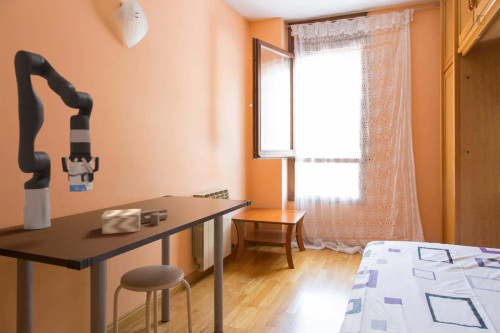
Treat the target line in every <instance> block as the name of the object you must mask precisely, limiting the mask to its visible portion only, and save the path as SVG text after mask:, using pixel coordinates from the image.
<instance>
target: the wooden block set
mask: <svg viewBox="0 0 500 333" xmlns="http://www.w3.org/2000/svg"><path fill="white" fill-rule="evenodd" d="M140 219H141V223H143V224H150V225H155V226H159V224H160V221H163V220H167V219H168V208H167V207H161V208H155V209H146V210H141V213H140Z"/></svg>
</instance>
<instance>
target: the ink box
mask: <svg viewBox="0 0 500 333" xmlns="http://www.w3.org/2000/svg"><path fill="white" fill-rule="evenodd" d="M89 165H91V167H92V168H93V161H90V162H89ZM68 170H69V180H68V182H69V192H77V193H79V192H85V191H90V190H94V187H93V186H94V183H93V182H94V180H93V181H92V182H89V173H90V172H89V170H88V169H87V167H86V166H85V162H71V161H68Z"/></svg>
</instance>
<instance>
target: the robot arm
mask: <svg viewBox="0 0 500 333" xmlns="http://www.w3.org/2000/svg"><path fill="white" fill-rule="evenodd" d="M13 62H14V63H13V66H14V73H15V74H14V75H15V79H16V86H17V101H18V102H17V106H18V107H17V108H18V109H17V110H18V111H17V112H18V114H17V115H18V125H19V126H18V131H19V134H18V136H19V140H18V151H17V152H18V153H17V155H18V156H17V165H18V168H19V169H20V171H21V172H22V173H24V174H32V177H31V178H29V179H28V180H27V181H25V182H24V184H23V190H24V191H23V192H24V193H23V194H24V196H23V197H24V206H23V207H22V212H23V215H22V216H23V230H39V229H40V230H41V229H48V228H50V227H51V225H52V224H51V203H50V200H51V198H50V182H51V180H52V179H51V178H52V163H51V157H50V155H49V154H48V153H47V152H46V151H37V150H36V151H35V142H36V138H37V137H38V134H39V132H40V131H41V129H42V127H43V125H44V122H45V112H44V110H45V109H44V103H43V102H42V100H41V98H40V97H39V95H38V93H37V92H36V91H35V90H36V89H34V86H33V83H32V79H31V75H32V76H38V77H40V78H43V79H44V80H46V83H47V86H48V87H49V89H51V91H53V92H54V93H55V94H56V96H59V98H60V100H61V101H62V102H63V103H64V105H66V107H68V108H70V109H74V110H78V112H77V114H73V115H71V116H70V117H69V150H70V151H69V156H62V157H61V159H60V160H61V167H62V172H63V173H67V178H68V179H67V180H68V181H69V168H68V163H69V162H85V166H86V167H87V169H88V170H89V172H90V173H89V182H92V181H93V182H94V179H95V174H94V173H96V172H99V169H100V156H92V150H91V149H92V148H91V146H92V145H91V141H92V139H91V133H90V132H91V131H90V119H91V115H92V113H93V112H92V111H93V107H94V100H93V98H92V95H91V94H90V93H88V92H83V91H79V90H77V89H76V87H75V85H74V84H72V82H71V81H69V80H68V79H66V78H65V77H63V75H61V74H60V73H59V72H58V71H57V70H56V69H55V68H54V67H53V65H52V64H51V63H50V62H49V61H48V60H47V59H46V58H45V57H44V56H42V55H41V54H38V53H36V52H33V51H32V52H31V51H27V50H24V49H23V50H22V49H20V50H18V51H16V53H15V55H14V59H13ZM92 160H93V161H92ZM89 162H94V168H93V166H92V167H91V165H89Z"/></svg>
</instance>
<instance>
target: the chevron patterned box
mask: <svg viewBox="0 0 500 333" xmlns="http://www.w3.org/2000/svg"><path fill="white" fill-rule="evenodd" d="M141 211H142V208H129V209H128V208H127V209H114V210H111V209H110V210H105V211H104V212H103V214H102V215H101V216H100V220H101V229H102V230H101V233H102V235H103V234H104V235H105V234H108V235H109V234H119V233H121V234H122V233H132V232H133V233H134V232H140V229H141V225H142V224H141V223H142V222H141V219H140V213H141Z"/></svg>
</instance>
